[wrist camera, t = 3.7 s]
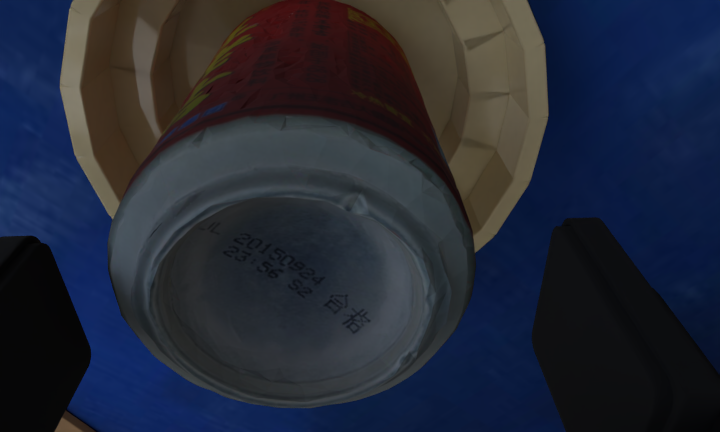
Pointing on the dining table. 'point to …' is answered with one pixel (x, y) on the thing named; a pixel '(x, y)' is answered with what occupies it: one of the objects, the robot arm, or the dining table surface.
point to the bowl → (383, 3)
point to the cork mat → (72, 424)
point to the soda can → (296, 218)
